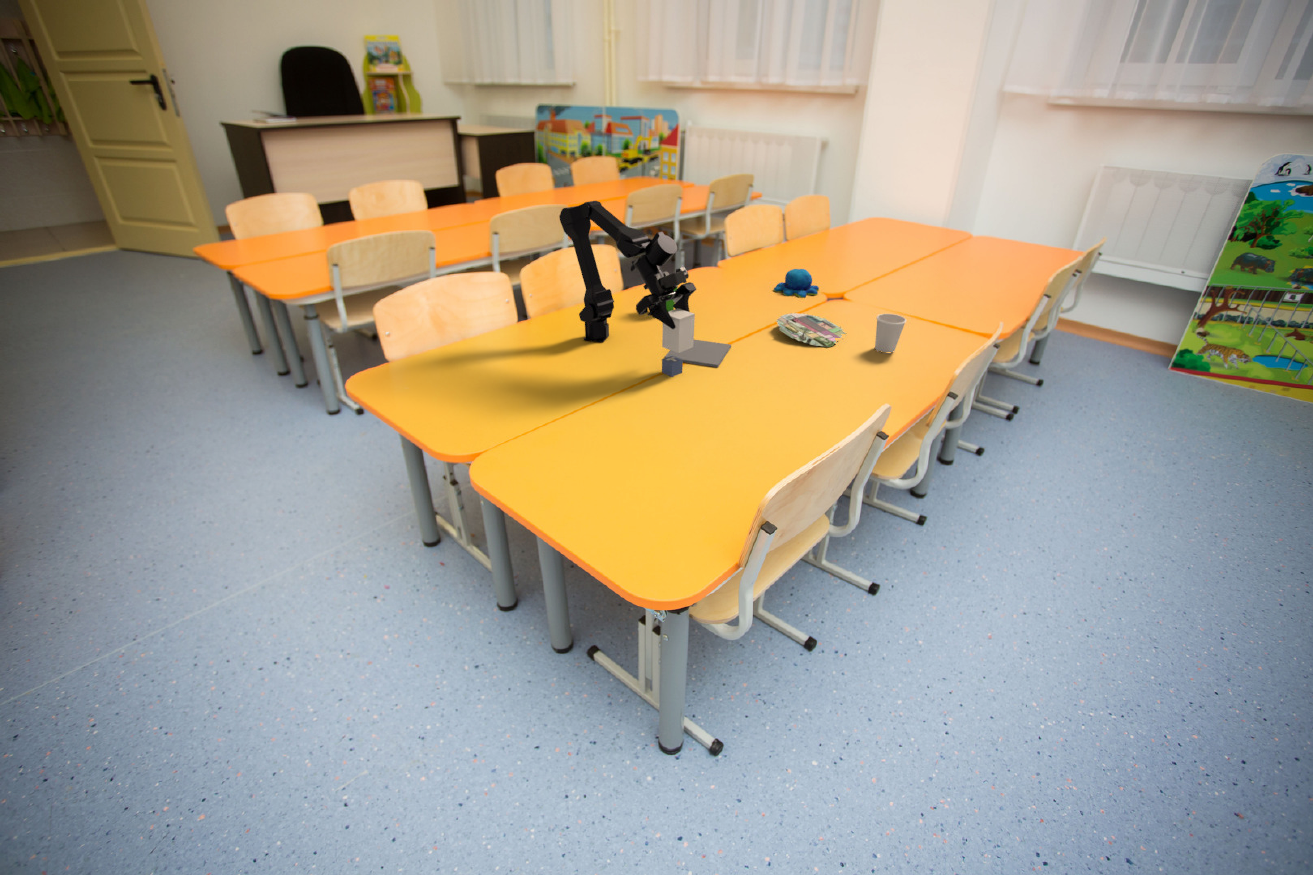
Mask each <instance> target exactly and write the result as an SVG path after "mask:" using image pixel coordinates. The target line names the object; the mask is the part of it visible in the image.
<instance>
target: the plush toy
mask: <svg viewBox="0 0 1313 875" xmlns="http://www.w3.org/2000/svg"><path fill="white" fill-rule="evenodd" d="M784 276H785V277H784V282H783V281H782V282H778V283H777V284H776V286H775V287H774V288H773V292H775V293H776V292H777V293H781V292H783V293H782V294H783V296H786V297H791V296H796V297H798V298H800V299H805V298H806V297H807V295H808V296H818V293H819V292H818V291H820V287H819V286H818V285H812V284H813V277H812V275H811V273H810V272H809V271H808V270H807V269H804V268H794V269H790V270H789V271H787V272H786V273H785V275H784Z"/></svg>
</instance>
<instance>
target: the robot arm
mask: <svg viewBox="0 0 1313 875" xmlns="http://www.w3.org/2000/svg"><path fill="white" fill-rule="evenodd" d="M559 222H560V224H561V228H562V229H563V232H564V233H565V235H566V236H568V238H570V240H571V242H572V244H573V247H574V252H575V255H576V258H577V262H578V265H579V269H580V273H581V277H582V279H583V283H584V287H585V291H584V292H585V293H584V296H583V303H584V307H583V308H582V310H580V312H579V313H578V316H579V319H580V321H581V322H584V338H583V341H586V342H587V341H588V342H596V343H604V342H605V341H606V340H607V339H608V338H609V337H610V324H609V323H608V319H610V318H611V317H612V313H613V311H614V309H615V305H614V304H615V300H614V298H613V295H612V290H611V289H610V288H608V289H607V288H606V287H604V285H603V284H602V280H601V276H600V273H599V269H598V265H597V263H596V262H597V261H596V257H595V254H594V250H593V248H592V243H591V240H590V231H591V227H592V224H591V222H592V223H594V224H595V225H596V226H597V227H599V228H600V229H601V230H602V231H603V232H604V233H606V234H607V235H608V236H609V237H611V238H612V239H613V240H614V242H615V245H616V249H618V250H619V252H620V253H621V254H622V255H623V256H624V257H625V258H628V259H630V258H631V259H632V258H634V257H635V258H636V257H638V256H639V257H638V258H637V259H635V260H632V261H631V266H630V272H636V271H637V272H638V274H639V275H640V277H641V279H642V280H643V282H644V285H643V289H644V290H645V291H646V290H648V291H649V294H646V295H644V296H643V297H642V298H641V299H640V300H639V301H638V302H637V303H636V304H635V310H636V312H637V314H638V315H639V316H642V315H645V314H646V315H647V316H651V317H653V318H654V319H656V320H657V321H659V322H661V323H662V324H663V323H664V324H666V325H667V326H669V327H670V328H671V329H675V328H676V326H675V324H674V322H673V320H672V318H671V316H670V314H669V313H668V311H667V309H666V302H667V301H670V300H674V302H675V304H674V305H673V307H674V310H675V309H678V308H679V309H682V310H685V311H688V312H691V311H690V306H689V305H690V304H689V299H690V297H691V296H692V294H694V292H696V290H697V287H696V285H695V284H694V282H691V281H689V282H688V281H687V279H689V273H688V271H687V269H686V268H685V266H682V267H679V268H676V269H675V272H674V273H669V271H667V270H666V271H663V269H662V266H664V265H665V264H666V263H667V262H668V261H669V260H670V259H671V258H672V257H673V256H674V254H675V253H677V251H678V245H677V243H676V241H675V240H674V239H673V238H671V237H670V236H668V235H666V234H664V232H663V231H658V232H656V233H655V234H654V236H653V238H650V237H648V235H647V234H645V232H642V231H640V230H639V229H636V228H634V227H630V226H628V225H626V224H625V223H623V222H622V220H620V219H618V217H617V216H615V215H614V214H613V213H612V212H610V211H609V210H607V209H606V208H605V207H604V206H603V205H602V203H601V201H598V200H591V201H585V202H583V203H582V204H579V205H574V206H569V207H563V208H562V209H561V211H560V214H559ZM677 287H678V288H677ZM676 288H677V290H675V291H674V289H676ZM669 296H670V297H669ZM648 311H649V312H648Z"/></svg>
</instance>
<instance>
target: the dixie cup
mask: <svg viewBox="0 0 1313 875" xmlns="http://www.w3.org/2000/svg"><path fill="white" fill-rule="evenodd" d="M906 323H907V319H906V318H905V317H904V316H902V315H899V314H895V313H894V314H893V313H881V314H880V313H879V314H878V315H876V329H875V341H874V342H875V343H874V350H875V349H876V350H877V351H876V350H875V351H876V352H878V351H882V352H893V351H894V352H895V351H896V348H897V345H898V342H899V339H900V338H901V335H902V332H903V330H904V327H905V325H906ZM894 352H893V353H894Z"/></svg>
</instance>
